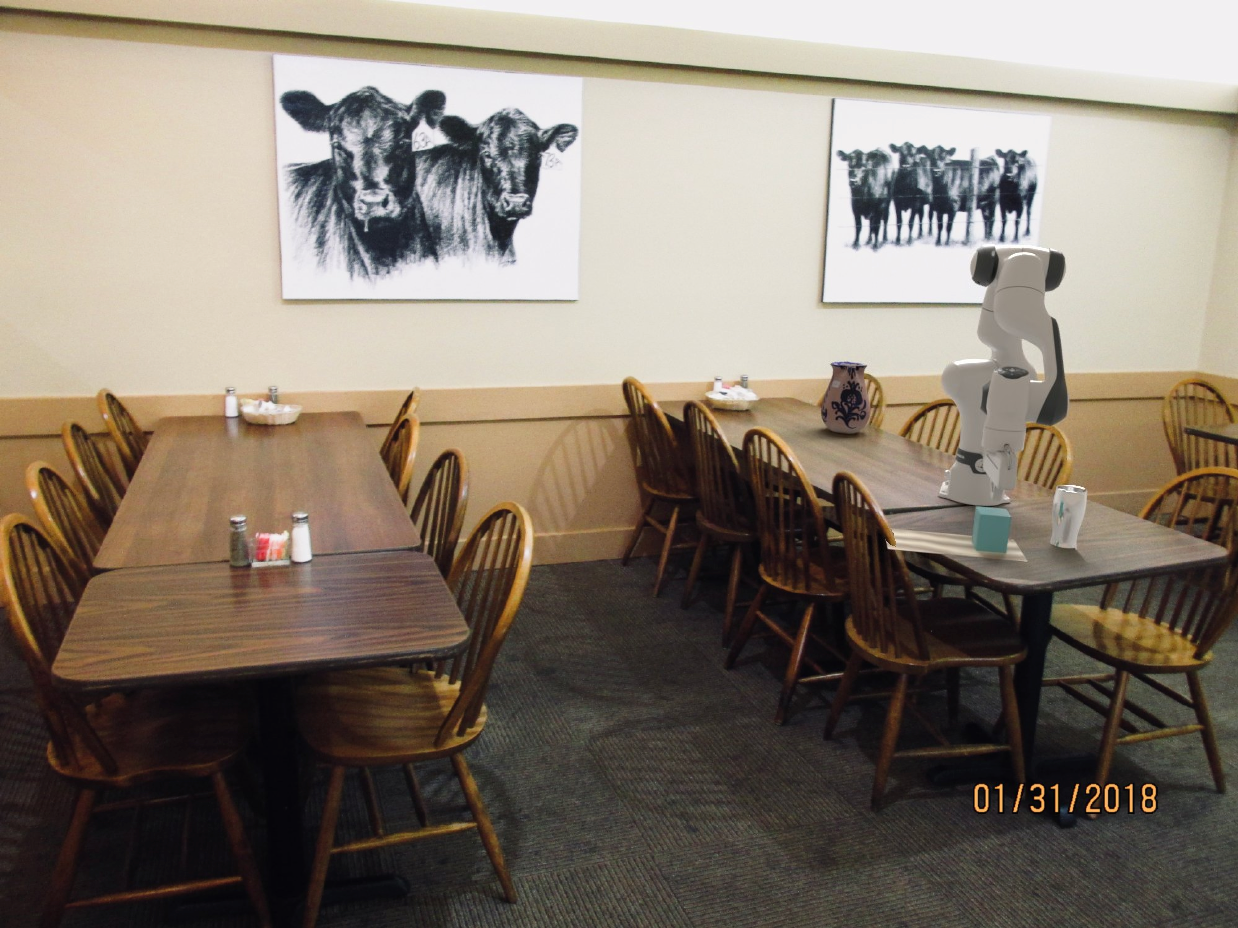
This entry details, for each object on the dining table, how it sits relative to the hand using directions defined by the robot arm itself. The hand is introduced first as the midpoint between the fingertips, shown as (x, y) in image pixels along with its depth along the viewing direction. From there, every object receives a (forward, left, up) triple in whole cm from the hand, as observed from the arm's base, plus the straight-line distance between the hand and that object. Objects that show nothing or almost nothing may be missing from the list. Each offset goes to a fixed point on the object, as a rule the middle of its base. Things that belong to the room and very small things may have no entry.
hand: (995, 499), depth 216 cm
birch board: (0, -8, -13) cm, 15 cm away
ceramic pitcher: (-132, -30, -13) cm, 136 cm away
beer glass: (-8, +18, -13) cm, 24 cm away
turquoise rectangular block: (0, 0, -12) cm, 12 cm away
